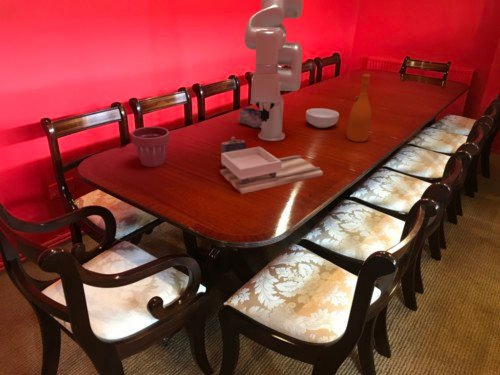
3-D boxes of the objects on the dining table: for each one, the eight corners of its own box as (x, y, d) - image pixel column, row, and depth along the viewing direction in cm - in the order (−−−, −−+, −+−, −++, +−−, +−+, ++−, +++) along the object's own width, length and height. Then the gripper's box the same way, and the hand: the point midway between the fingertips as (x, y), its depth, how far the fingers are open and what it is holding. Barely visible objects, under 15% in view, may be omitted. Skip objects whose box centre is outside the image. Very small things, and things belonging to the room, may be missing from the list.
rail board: (220, 173, 145) (220, 168, 144) (296, 158, 159) (296, 153, 158) (241, 193, 131) (241, 187, 130) (322, 175, 145) (323, 169, 144)
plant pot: (178, 160, 156) (176, 130, 150) (154, 172, 145) (150, 140, 139) (152, 153, 162) (149, 124, 156) (127, 164, 151) (122, 133, 146)
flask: (222, 167, 150) (222, 139, 145) (220, 164, 152) (219, 137, 147) (246, 164, 153) (247, 137, 147) (244, 161, 155) (244, 134, 150)
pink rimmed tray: (221, 168, 143) (221, 153, 140) (259, 161, 149) (259, 146, 147) (240, 185, 130) (240, 169, 127) (280, 177, 137) (281, 161, 134)
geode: (279, 126, 198) (279, 107, 192) (267, 135, 190) (267, 116, 184) (247, 117, 207) (246, 100, 202) (234, 125, 200) (233, 107, 194)
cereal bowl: (337, 132, 190) (339, 118, 186) (303, 129, 193) (304, 115, 189) (337, 122, 205) (339, 108, 201) (306, 119, 207) (307, 106, 204)
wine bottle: (364, 135, 185) (374, 71, 172) (370, 142, 177) (381, 76, 163) (344, 135, 185) (352, 71, 171) (349, 142, 176) (358, 76, 163)
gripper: (288, 67, 134) (286, 118, 142) (246, 66, 136) (246, 116, 144) (287, 72, 127) (284, 125, 136) (242, 70, 129) (242, 122, 138)
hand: (264, 120), depth 140 cm, fingers closed
